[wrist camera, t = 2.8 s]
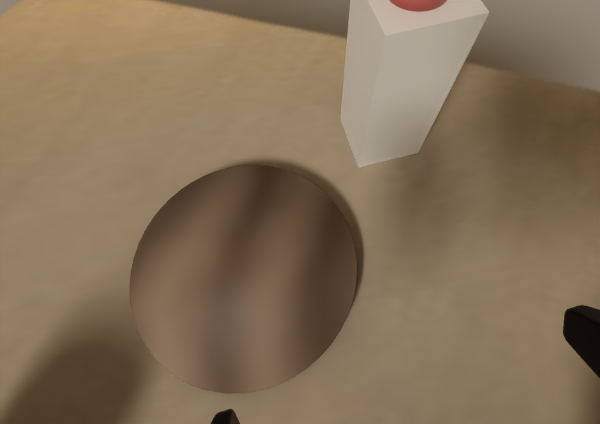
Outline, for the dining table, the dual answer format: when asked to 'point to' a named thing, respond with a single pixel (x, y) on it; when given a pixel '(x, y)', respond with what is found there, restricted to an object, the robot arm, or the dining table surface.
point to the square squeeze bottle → (402, 70)
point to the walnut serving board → (243, 279)
